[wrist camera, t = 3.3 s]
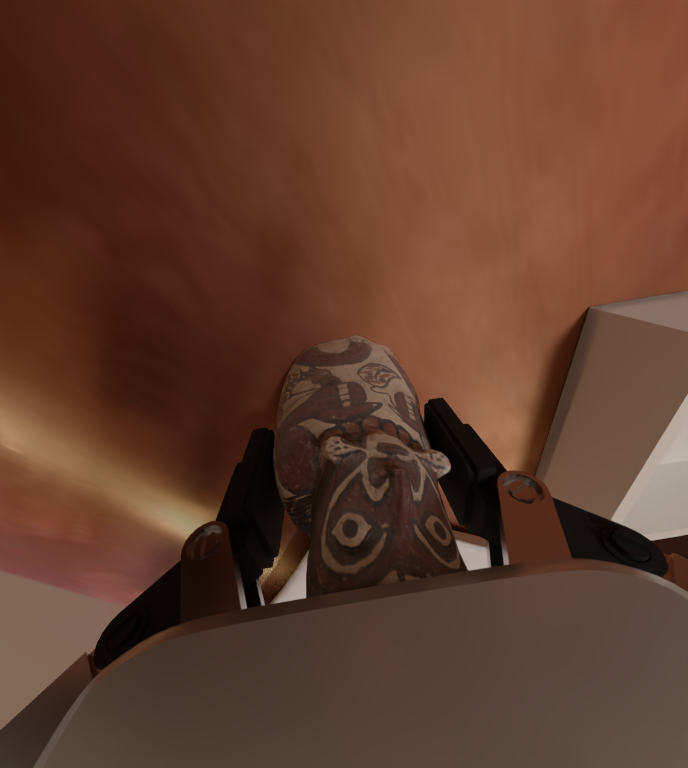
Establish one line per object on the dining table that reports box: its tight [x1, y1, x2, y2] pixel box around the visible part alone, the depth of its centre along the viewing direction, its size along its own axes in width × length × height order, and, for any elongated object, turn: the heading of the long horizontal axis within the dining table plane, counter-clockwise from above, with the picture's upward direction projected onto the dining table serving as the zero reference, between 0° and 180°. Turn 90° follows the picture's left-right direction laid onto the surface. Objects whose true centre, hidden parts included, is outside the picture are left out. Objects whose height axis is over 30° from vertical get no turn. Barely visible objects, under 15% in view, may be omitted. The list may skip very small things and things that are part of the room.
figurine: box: [273, 335, 468, 598], centre depth 10 cm, size 7×7×12 cm
